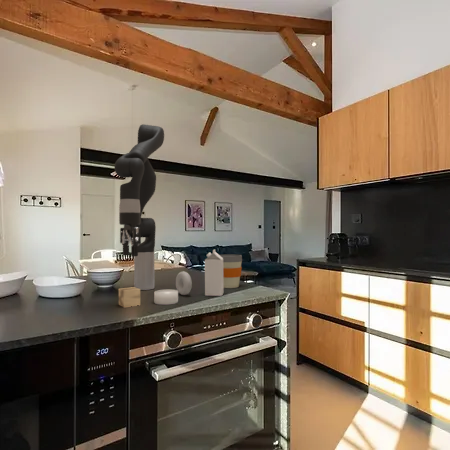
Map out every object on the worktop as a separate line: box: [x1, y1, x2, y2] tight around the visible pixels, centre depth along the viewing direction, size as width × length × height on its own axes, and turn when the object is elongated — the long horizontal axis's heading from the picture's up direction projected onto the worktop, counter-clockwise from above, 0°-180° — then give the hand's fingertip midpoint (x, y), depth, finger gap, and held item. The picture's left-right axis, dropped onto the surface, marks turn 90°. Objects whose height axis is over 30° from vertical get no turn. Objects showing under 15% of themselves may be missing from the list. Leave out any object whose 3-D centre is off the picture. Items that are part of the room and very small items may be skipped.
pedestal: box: [153, 288, 179, 305], centre depth 130 cm, size 9×9×4 cm
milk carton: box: [204, 249, 225, 297], centre depth 145 cm, size 7×7×19 cm
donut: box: [175, 270, 193, 296], centre depth 144 cm, size 10×4×10 cm, turn 39°
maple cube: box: [118, 286, 141, 308], centre depth 126 cm, size 6×6×6 cm
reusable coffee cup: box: [219, 253, 243, 289], centre depth 164 cm, size 13×13×15 cm
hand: (130, 255), depth 126 cm, fingers open, 8 cm apart
